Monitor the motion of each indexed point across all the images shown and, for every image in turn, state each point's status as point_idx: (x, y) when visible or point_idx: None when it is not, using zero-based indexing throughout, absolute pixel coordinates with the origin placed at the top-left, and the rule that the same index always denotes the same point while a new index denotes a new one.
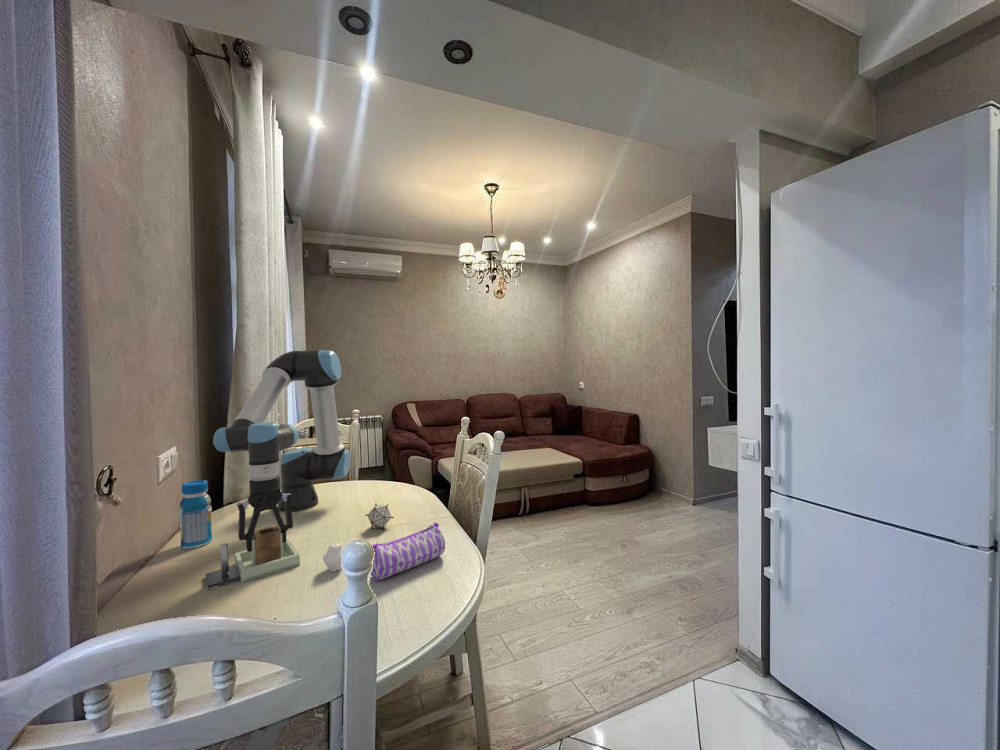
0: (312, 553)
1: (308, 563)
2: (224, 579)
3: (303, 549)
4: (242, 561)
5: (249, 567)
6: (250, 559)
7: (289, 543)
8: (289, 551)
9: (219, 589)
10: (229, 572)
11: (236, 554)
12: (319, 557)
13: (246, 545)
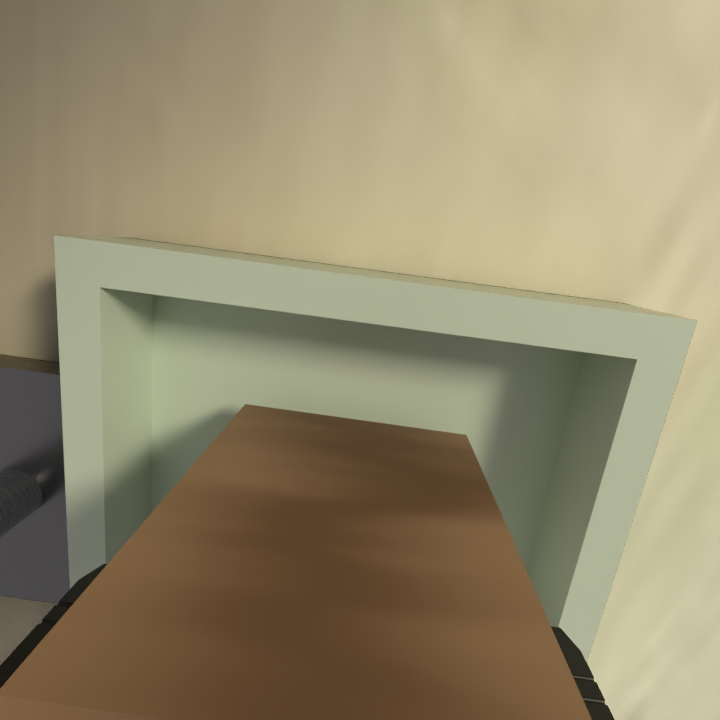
0: (695, 577)
1: None
2: (10, 578)
3: (701, 433)
4: (105, 541)
5: None
6: (243, 314)
7: (625, 469)
8: (558, 506)
9: (4, 614)
10: (47, 485)
11: (67, 297)
12: (681, 682)
13: (39, 638)
